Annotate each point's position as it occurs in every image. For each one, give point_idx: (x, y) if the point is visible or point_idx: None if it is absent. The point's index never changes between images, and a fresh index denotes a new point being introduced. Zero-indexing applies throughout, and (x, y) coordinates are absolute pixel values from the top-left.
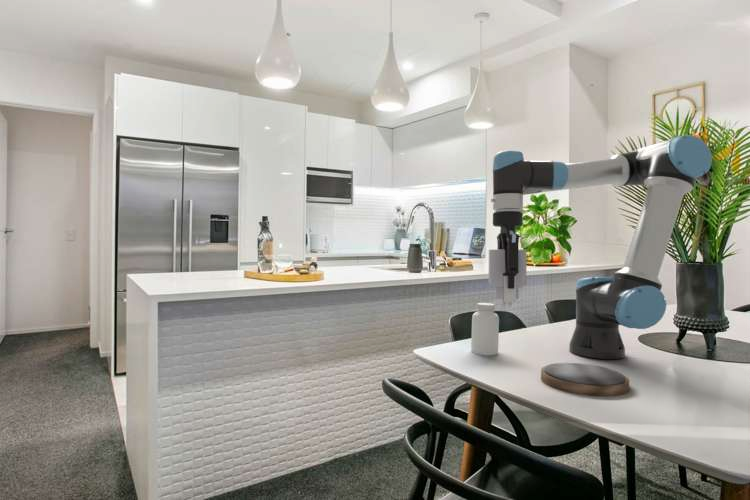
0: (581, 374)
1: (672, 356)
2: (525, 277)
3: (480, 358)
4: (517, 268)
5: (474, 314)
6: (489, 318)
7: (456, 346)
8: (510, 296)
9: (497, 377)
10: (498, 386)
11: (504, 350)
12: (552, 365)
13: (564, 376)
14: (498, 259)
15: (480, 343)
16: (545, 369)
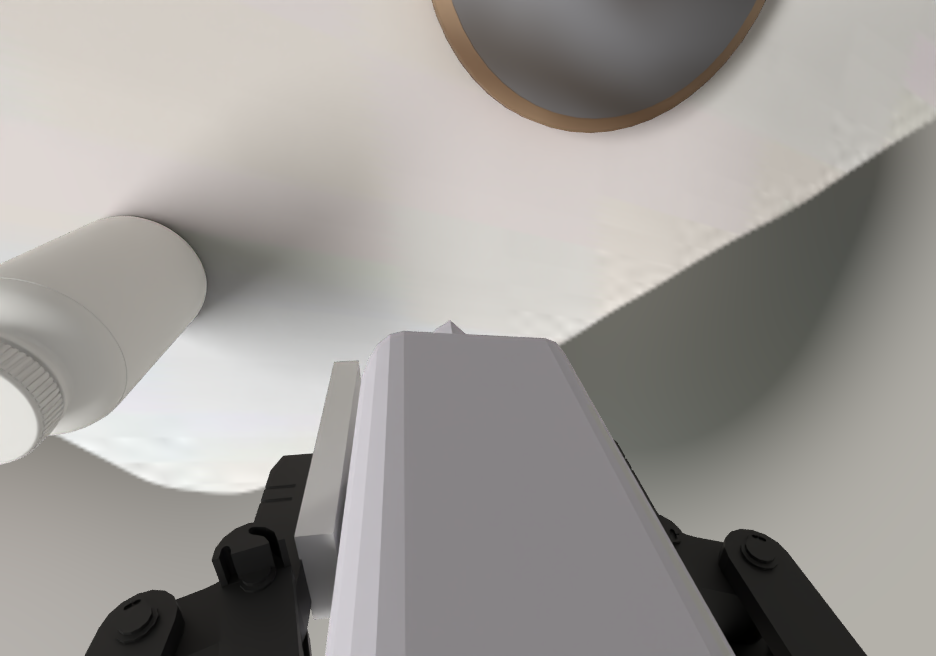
0: None
1: None
2: (586, 394)
3: (258, 303)
4: (809, 594)
5: (67, 432)
6: (115, 349)
7: None
8: None
9: (528, 281)
10: (623, 294)
11: (25, 161)
12: (500, 50)
13: (671, 63)
14: None
15: (185, 322)
16: (567, 112)
